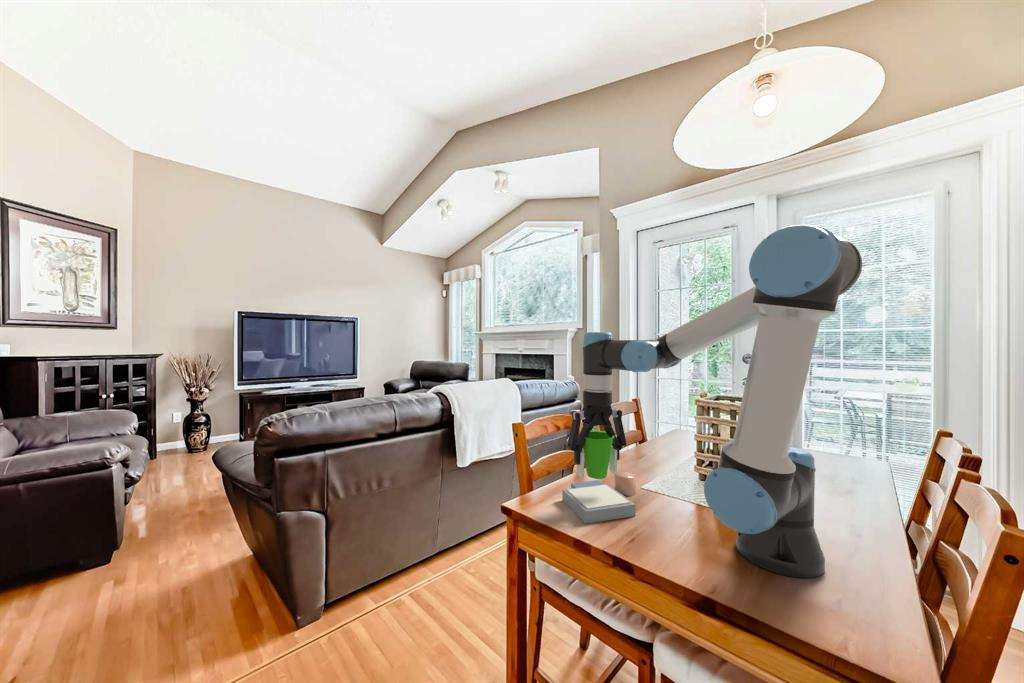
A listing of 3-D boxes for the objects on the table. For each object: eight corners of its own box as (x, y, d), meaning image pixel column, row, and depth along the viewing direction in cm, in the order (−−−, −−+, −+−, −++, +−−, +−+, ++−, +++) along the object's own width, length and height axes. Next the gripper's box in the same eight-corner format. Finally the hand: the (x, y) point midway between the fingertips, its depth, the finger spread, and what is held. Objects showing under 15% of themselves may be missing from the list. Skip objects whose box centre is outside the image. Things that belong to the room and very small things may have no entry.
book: (608, 495, 112) (608, 487, 112) (580, 499, 109) (580, 491, 109) (597, 487, 118) (597, 480, 118) (570, 491, 115) (570, 483, 115)
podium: (635, 515, 98) (635, 503, 98) (585, 523, 94) (585, 510, 94) (606, 494, 112) (606, 483, 112) (562, 500, 108) (562, 488, 108)
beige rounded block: (640, 494, 111) (640, 477, 111) (621, 497, 110) (621, 480, 110) (628, 487, 117) (628, 470, 117) (610, 489, 116) (610, 472, 115)
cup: (609, 469, 108) (610, 430, 107) (618, 482, 99) (618, 439, 98) (577, 469, 108) (577, 430, 108) (582, 481, 99) (582, 439, 98)
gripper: (625, 386, 109) (624, 465, 110) (553, 389, 103) (553, 473, 104) (641, 390, 102) (640, 474, 103) (565, 394, 96) (565, 483, 96)
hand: (596, 474), depth 103 cm, fingers closed on cup, 9 cm apart
